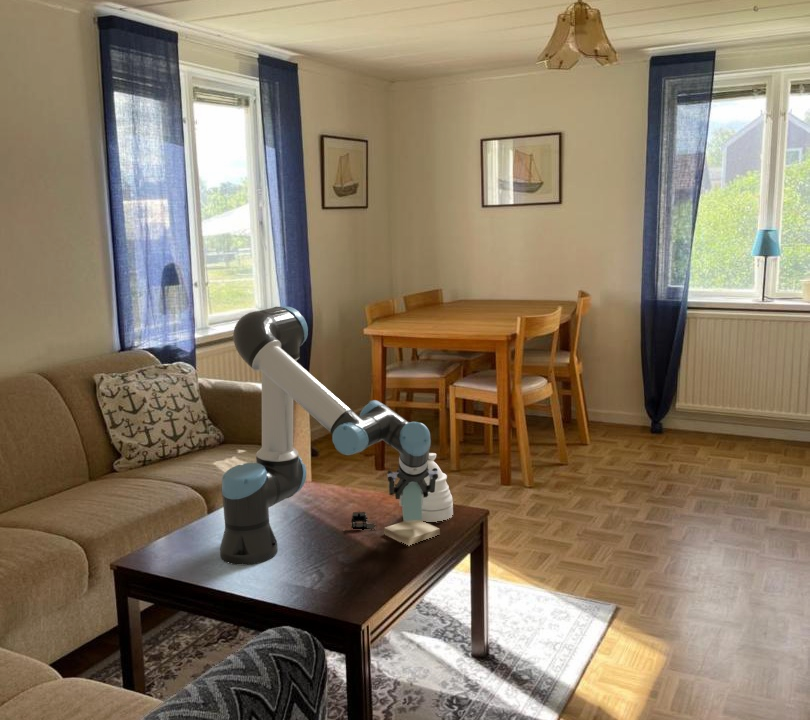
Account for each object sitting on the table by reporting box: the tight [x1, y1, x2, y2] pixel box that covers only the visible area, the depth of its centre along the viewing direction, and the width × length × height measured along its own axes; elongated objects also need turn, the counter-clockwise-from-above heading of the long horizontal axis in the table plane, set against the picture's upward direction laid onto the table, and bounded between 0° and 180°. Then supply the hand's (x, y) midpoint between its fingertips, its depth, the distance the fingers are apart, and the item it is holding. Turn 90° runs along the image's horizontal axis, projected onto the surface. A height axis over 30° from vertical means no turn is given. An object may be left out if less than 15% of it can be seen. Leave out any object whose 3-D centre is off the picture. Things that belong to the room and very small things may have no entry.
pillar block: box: [401, 482, 422, 521], centre depth 232 cm, size 5×5×11 cm
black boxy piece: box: [350, 511, 377, 531], centre depth 241 cm, size 12×7×5 cm, turn 90°
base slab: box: [383, 520, 441, 547], centre depth 234 cm, size 11×11×2 cm
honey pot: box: [421, 452, 454, 523], centre depth 248 cm, size 13×13×18 cm
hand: (410, 501), depth 236 cm, fingers closed on pillar block, 5 cm apart
